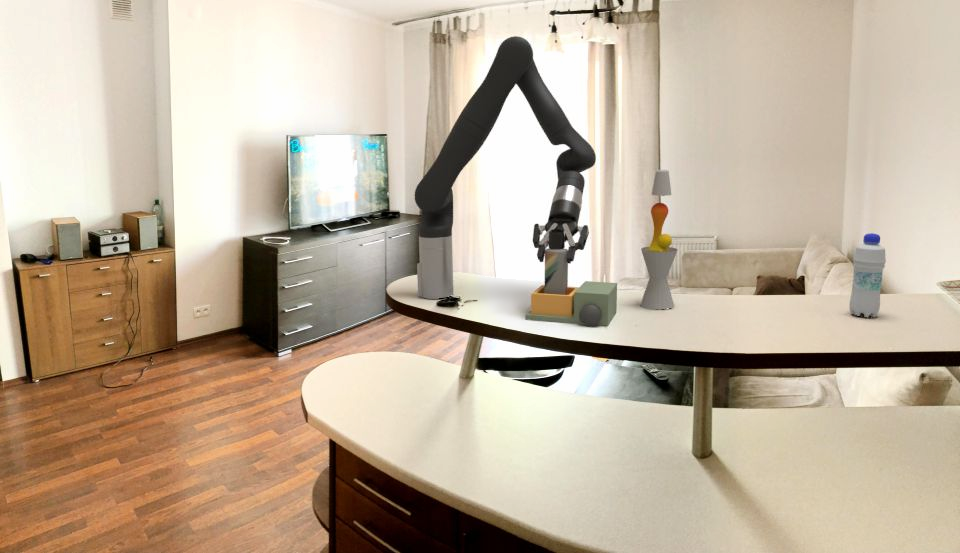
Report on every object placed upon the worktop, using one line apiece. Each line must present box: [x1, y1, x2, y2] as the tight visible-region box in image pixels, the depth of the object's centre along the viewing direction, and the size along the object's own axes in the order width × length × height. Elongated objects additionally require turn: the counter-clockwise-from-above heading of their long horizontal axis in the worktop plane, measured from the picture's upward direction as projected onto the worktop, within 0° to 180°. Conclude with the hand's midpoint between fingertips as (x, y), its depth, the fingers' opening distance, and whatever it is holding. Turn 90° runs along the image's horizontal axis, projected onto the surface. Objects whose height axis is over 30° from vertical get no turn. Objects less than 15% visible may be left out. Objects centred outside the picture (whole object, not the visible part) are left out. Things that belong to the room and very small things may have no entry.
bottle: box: [849, 232, 887, 318], centre depth 156 cm, size 7×7×20 cm
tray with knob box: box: [524, 280, 618, 328], centre depth 161 cm, size 20×16×8 cm
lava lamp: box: [639, 169, 678, 310], centre depth 167 cm, size 9×9×35 cm
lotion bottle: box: [544, 229, 569, 295], centre depth 162 cm, size 6×6×20 cm
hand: (554, 260), depth 159 cm, fingers open, 6 cm apart
